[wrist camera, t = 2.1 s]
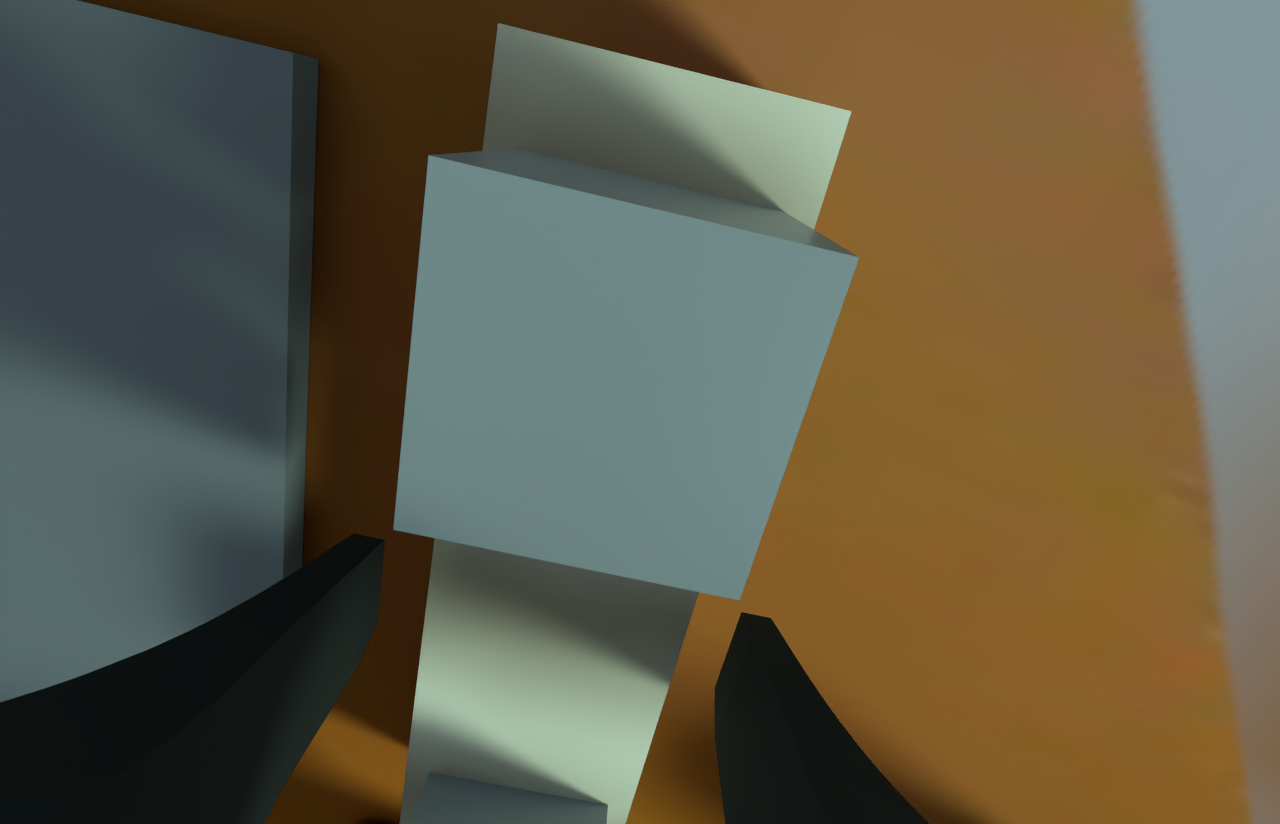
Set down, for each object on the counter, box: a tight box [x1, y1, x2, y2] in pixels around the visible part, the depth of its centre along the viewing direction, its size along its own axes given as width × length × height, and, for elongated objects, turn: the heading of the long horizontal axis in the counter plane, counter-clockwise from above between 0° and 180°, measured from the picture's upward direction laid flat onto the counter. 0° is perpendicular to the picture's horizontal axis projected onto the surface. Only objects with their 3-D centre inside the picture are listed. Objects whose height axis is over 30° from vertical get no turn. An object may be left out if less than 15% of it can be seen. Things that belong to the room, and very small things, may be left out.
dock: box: [0, 0, 319, 702], centre depth 16 cm, size 20×10×1 cm, turn 167°
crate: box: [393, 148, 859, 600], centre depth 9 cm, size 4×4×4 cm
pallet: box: [399, 23, 851, 824], centre depth 15 cm, size 20×5×4 cm, turn 167°
